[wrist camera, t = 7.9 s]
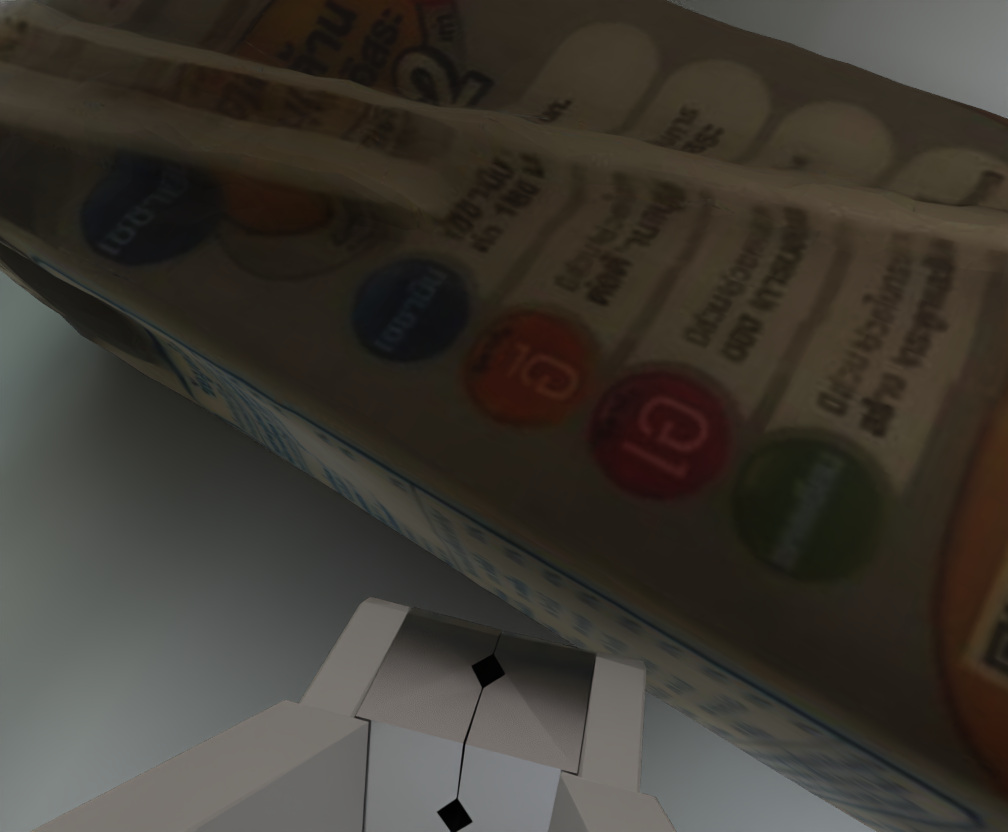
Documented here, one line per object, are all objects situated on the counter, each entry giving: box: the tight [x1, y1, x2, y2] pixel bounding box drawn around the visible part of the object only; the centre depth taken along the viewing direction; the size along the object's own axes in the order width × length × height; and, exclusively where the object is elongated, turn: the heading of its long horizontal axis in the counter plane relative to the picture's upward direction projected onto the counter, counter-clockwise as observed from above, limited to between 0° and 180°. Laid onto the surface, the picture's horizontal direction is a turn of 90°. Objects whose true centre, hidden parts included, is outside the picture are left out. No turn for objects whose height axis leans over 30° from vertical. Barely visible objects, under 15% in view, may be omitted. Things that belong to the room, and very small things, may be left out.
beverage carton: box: [0, 0, 1008, 832], centre depth 11 cm, size 8×19×7 cm, turn 58°
